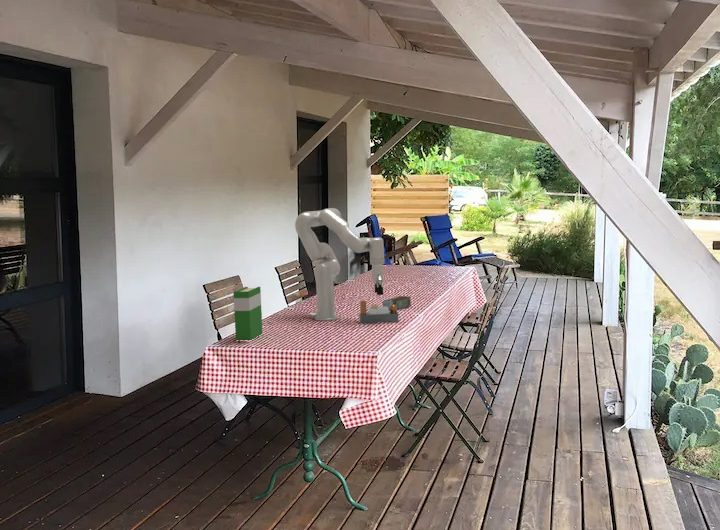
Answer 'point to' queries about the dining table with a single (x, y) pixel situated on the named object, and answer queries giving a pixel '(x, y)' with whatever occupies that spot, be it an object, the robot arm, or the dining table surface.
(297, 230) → the robot arm
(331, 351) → the dining table surface
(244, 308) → the green cereal box
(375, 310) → the white box
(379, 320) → the plane body
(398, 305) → the beverage carton
